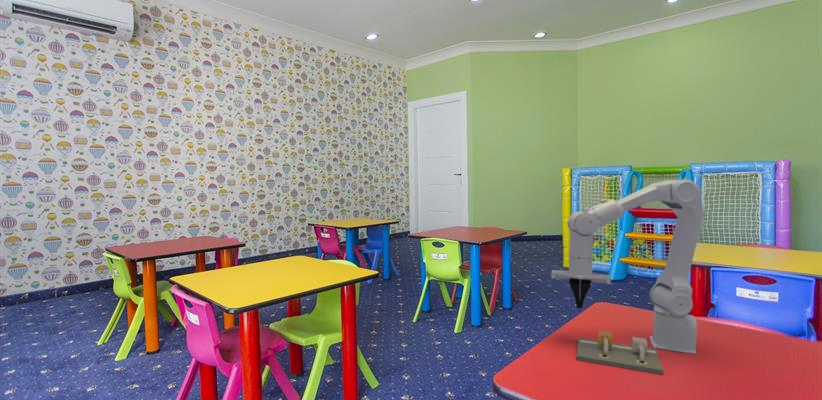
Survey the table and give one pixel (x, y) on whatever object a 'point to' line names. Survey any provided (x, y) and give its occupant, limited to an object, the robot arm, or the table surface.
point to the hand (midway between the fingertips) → (579, 307)
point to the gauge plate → (618, 356)
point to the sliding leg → (605, 340)
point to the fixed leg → (640, 346)
